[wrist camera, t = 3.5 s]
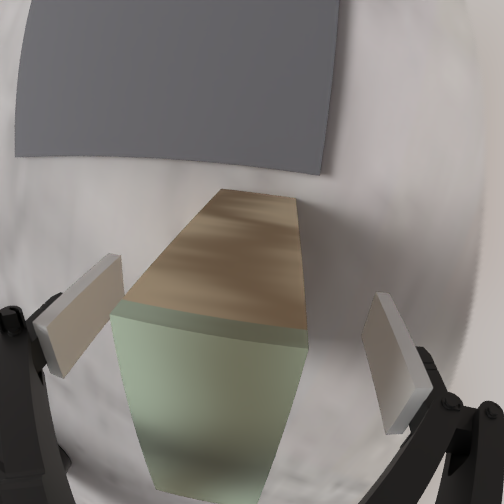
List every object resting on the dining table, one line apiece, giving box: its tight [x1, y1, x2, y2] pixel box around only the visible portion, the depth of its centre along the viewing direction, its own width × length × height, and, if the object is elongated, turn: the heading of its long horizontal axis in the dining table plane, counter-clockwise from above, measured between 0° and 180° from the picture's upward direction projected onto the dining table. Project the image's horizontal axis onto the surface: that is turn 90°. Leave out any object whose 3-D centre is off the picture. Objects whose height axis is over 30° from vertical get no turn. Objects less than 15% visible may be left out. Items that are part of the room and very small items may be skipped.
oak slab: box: [109, 189, 309, 504], centre depth 13 cm, size 4×9×12 cm, turn 174°
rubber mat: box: [15, 0, 339, 176], centre depth 13 cm, size 20×14×1 cm
